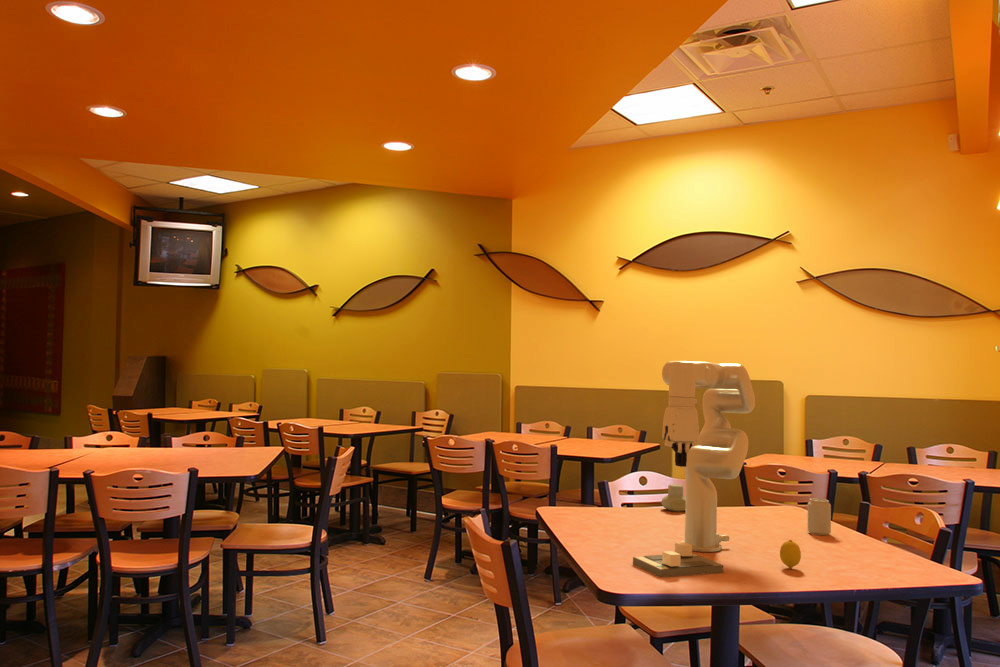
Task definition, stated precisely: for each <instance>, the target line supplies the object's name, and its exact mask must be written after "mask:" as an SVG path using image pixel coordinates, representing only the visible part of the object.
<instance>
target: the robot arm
mask: <svg viewBox="0 0 1000 667" xmlns="http://www.w3.org/2000/svg"><path fill="white" fill-rule="evenodd" d="M661 376H662V380H663V381H664V384H666V385H667V386H668V407H665V410H664V415H663V420H662V422H663V423H662V429H661V430H662V434H661V435H662V440H663V441H664V444H663V445H664V446H667V447H670V448H671V449H672V451H673V452H674V463H675V464H674V465H675V466H677V467H680V468H681V467H682V468H683V470H684V477H685V497H686V508H685V510H684V511H685V516H684V519H685V520H684V521H685V522H684V525H685V526H684V539H683V540H681V541H680V542H685V543H688V544H691V545H692V552H701V553H715V552H716V553H717V552H719V551H722V547H723V546H722V545H721V544H720V543H721V542H729V541H730V536H729V534H722V535H721V534H720V533H717V532H718V531H717V530H718V529H717V524H718V522H717V519H718V518H717V517H718V490H717V489H716V486H715V485H714V482H712V480H711V479H713V478H714V479H721V480H722V479H724V480H734V479H736V478H737V477H739V475H740V473H741V471H742V468H743V465H744V463H745V460H746V458H747V454H748V452H749V451H748V450H749V437H748V435H747V433H746V432H745V431H744V430H742V429H739V428H732V426H731V423H730V421H729V420H728V418H727V417H726V416H725V415H724V414H723V413H727V414H728V413H729V414H731V413H733V414H749V413H752V411H754V410H755V409H754V408H755V406H756V398H755V396H756V395H755V392H754V389H753V385H752V382H751V377H750V375H749V372H748V371H747V369H746V367H745V366H744V365H743V364H740V363H715V362H707V361H697V360H696V361H695V360H694V361H687V360H669V361H667V362H665V364H664V365H663V366H662V370H661ZM696 389H706V390H705V391H704V393H703V396H702V414H703V418H704V424H703V426H702V428H701V430H700V424H699V415H698V410H697V408H696V405H697V404H698V403H699V401H698V399H696Z"/></svg>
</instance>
